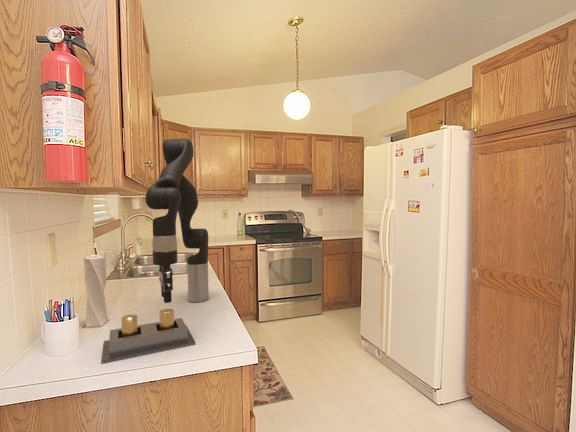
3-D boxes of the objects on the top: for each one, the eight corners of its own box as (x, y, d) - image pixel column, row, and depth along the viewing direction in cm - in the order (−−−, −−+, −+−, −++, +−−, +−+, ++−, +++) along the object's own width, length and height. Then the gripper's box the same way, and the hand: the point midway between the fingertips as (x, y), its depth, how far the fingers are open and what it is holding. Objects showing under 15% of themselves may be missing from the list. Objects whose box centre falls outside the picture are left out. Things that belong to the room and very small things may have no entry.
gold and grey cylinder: (159, 336, 107) (158, 310, 106) (173, 334, 109) (172, 307, 108) (161, 341, 103) (160, 314, 102) (175, 339, 105) (174, 311, 104)
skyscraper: (113, 320, 125) (111, 249, 124) (104, 328, 117) (102, 252, 116) (90, 321, 124) (87, 249, 123) (79, 329, 116) (76, 253, 115)
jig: (103, 343, 104) (102, 313, 103) (186, 328, 116) (186, 301, 115) (101, 363, 91) (100, 329, 90) (195, 344, 102) (194, 314, 102)
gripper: (150, 247, 109) (152, 295, 110) (154, 253, 96) (156, 307, 97) (173, 245, 112) (175, 292, 113) (180, 251, 100) (181, 303, 100)
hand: (166, 299), depth 105 cm, fingers open, 6 cm apart
